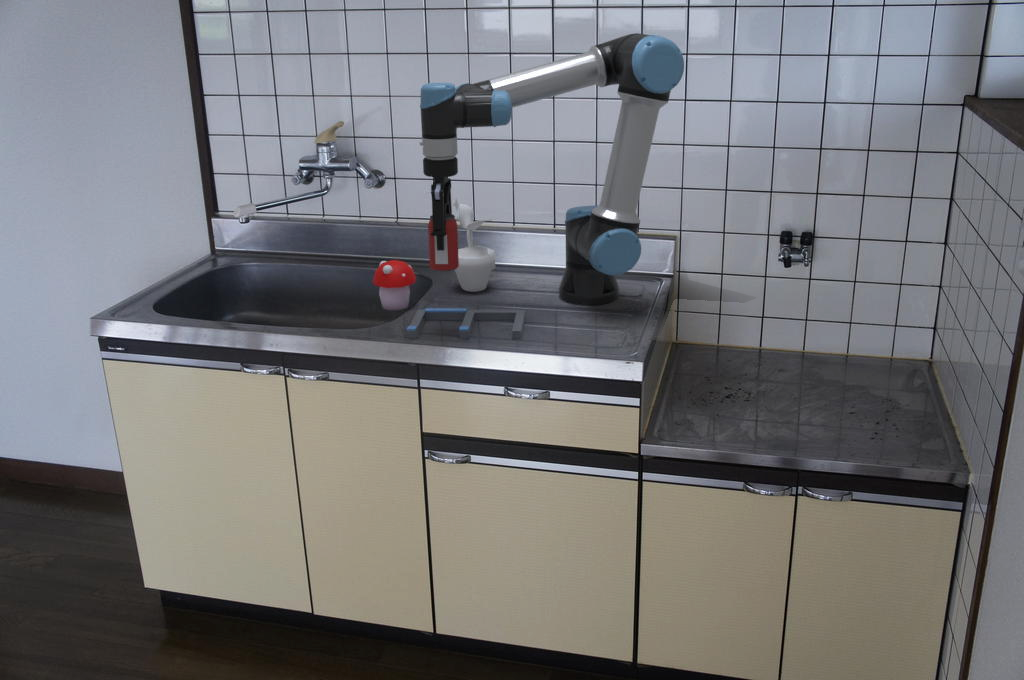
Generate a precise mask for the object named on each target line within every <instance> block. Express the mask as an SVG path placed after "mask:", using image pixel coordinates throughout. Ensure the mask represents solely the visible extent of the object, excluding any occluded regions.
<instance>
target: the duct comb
mask: <svg viewBox="0 0 1024 680" xmlns="http://www.w3.org/2000/svg"><path fill="white" fill-rule="evenodd" d="M426 321H462V323H461V324H460V326H459V328H458V330H459V333H458V334H459V340H469V339H470V336H471V333H472V330H473V327H474V324H475V321H513V325H512V329H511V338H512V340H522V337H523V331H524V327H525V322H526V309H468V308H467V307H465V308H461V307H459V308H458V307H457V308H456V307H455V308H453V307H452V308H451V307H448V308H447V307H445V308H444V307H443V308H442V307H440V308H439V307H437V308H436V307H435V308H434V307H426V308H425V309H417V310H416V312H415V314H414V316H413V318H412V320H411V322H410V324H409V325H408V326H407V327H406V337H407V339H408V340H413V339H414V340H416V339H417V337H418V336H419V334H420V332H421V330H422V328H423V326H424V324H425V322H426Z"/></svg>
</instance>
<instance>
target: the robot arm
mask: <svg viewBox="0 0 1024 680" xmlns="http://www.w3.org/2000/svg"><path fill="white" fill-rule="evenodd" d="M684 71H685V60H684V56H683V53H682V51H681V49H680V48H679V47H678V45H677V44H676V43H675V42H674V41H672V40H671V39H669V38H666V37H664V36H661V35H656V34H655V35H653V34H645V33H629V34H626V35H623V36H620V37H617V38H614V39H611V40H608V41H604V42H603V43H599V44H595V45H592V46H590V48H589V50H588V51H587V52H584V53H580V54H575V55H573V56H570V57H569V56H568V57H566V58H562V59H558V60H554V61H551V62H547V63H543V64H540V65H537V66H533V67H530V68H526V69H522V70H518V71H515V72H511V73H507V74H504V75H501V76H496V77H493V78H490V79H487V80H482V81H478V82H474V83H468V82H467V83H462V84H461V83H460V85H458V86H456V85H455V84H454V83H452V82H428V83H425V84H423V85H422V86H421V88H420V103H419V104H420V105H419V107H420V119H421V120H420V121H421V122H420V124H421V137H422V138H421V139H422V140H421V141H419V145H420V146H421V147H422V155H423V156H424V158H423V159H422V164H423V165H422V167H423V168H422V169H423V172H422V173H423V175H424V176H426V177H429V178H433V182H432V184H431V186H430V195H431V206H432V207H431V210H432V211H431V212H432V215H431V216H432V219H433V231H432V233H431V236H434V239H435V264H448V248H447V235H446V214H452V215H453V212H452V210H453V209H452V207H453V205H452V192H451V191H452V179H451V177H455V176H456V175H458V172H459V170H458V169H459V168H458V167H459V164H458V162H459V161H458V157H456V156H457V155H458V152H459V151H458V135H457V132H458V130H457V129H464V128H481V127H482V128H487V127H493V128H496V127H499V126H507V125H508V124H510V122H511V120H512V114H513V113H512V112H513V110H512V109H513V108H515V107H520V106H523V105H527V104H530V103H534V102H537V101H541V100H545V99H548V98H553V97H556V96H559V95H563V94H566V93H570V92H574V91H576V90H581V89H584V88H589V87H592V86H595V85H596V86H597V87H599V88H605V87H607V86H612V85H613V86H615V85H618V86H617V87H618V88H617V91H616V93H617V94H618V96H619V97H620V100H621V105H620V109H619V110H620V111H619V114H618V120H617V123H616V127H615V128H616V129H615V133H614V138H613V142H612V145H611V147H612V148H611V152H610V154H609V155H610V157H609V160H608V164H607V165H608V166H607V170H606V174H605V178H604V184H603V188H602V193H601V197H600V202H599V204H598V205H581V206H575V207H571V208H568V209H567V210H566V213H565V220H564V224H565V268H564V271H563V275H562V278H561V281H560V284H559V287H558V288H559V289H558V297H559V299H561V300H562V301H564V302H566V303H570V304H574V305H581V306H596V305H605V304H609V303H612V302H614V301H616V300H617V299H619V297H620V292H619V291H620V288H619V284H618V283H619V282H618V280H617V277H616V276H620V275H623V274H626V273H627V272H629V271H630V270H632V269H634V267H635V266H636V265H637V263H638V262H639V260H640V257H641V255H642V244H641V241H640V238H639V236H638V234H639V233H638V232H639V230H640V229H639V228H640V225H641V219H640V218H639V216H638V214H637V209H638V203H639V200H640V195H641V190H642V187H643V182H644V178H645V175H646V174H645V173H646V169H647V165H648V160H649V156H650V151H651V147H652V143H653V138H654V134H655V130H656V126H657V121H658V118H659V117H658V116H659V112H660V110H661V108H662V107H664V106H666V104H668V103H669V99H670V95H671V91H672V90H673V89H674V88H675V87H676V86H678V84H679V83H680V81H681V80H682V79H683V75H684ZM438 229H441V230H438Z"/></svg>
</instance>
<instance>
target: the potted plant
mask: <svg viewBox="0 0 1024 680" xmlns="http://www.w3.org/2000/svg"><path fill="white" fill-rule="evenodd" d="M452 206H454V208H455V209H456V211H458V210H459V214H458V216H457V217H456V218H455V220H456V222H458V223H459V225H460V226H461V227H462V229H464V230H466V241H467V245H468V246H464V248H463V247H462V248H458V258H459V266H458V268H457V269H455V270H453V271H454V272H455V275H456V276H457V280H458V282H459V285H460V288H461V289H462V290H464V291H466V292H471V293H473V292H474V293H477V292H483V291H484V290H485V289H487V287H488V283H489V280H490V276H491V273H492V271H494V270H495V268H496V256H495V255H496V251H495V250H493V249H491V248H488V247H486V246H482V245H477V244H475V245H474V238H473V237H474V236H473V231H475V230H477V229H479V228H480V226H482V225H483V224H484V223H485V222H488V221H489V222H490V221H492V218H487V219H480V220H478V219H477V220H475V221H474V218H475V212H474V209H473V207H471V206H470V205H468V204H464V203H458V199H457V198H455V202H454V203H452Z"/></svg>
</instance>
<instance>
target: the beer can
mask: <svg viewBox="0 0 1024 680" xmlns="http://www.w3.org/2000/svg"><path fill="white" fill-rule="evenodd" d="M427 229H428V231H427V233H428V252H429V253H428V254H429V255H428V256H429V258H428V259H429V268H430V269H431V270H433V271H434V272H442V273H443V272H450V271H451V272H452V271H454V270H455V269H457V268H458V266H459V258H458V249H459V233H458V231H459V229H458V221H457V220H456V216H455V215H454V214H453V213H452V214H446V235H447V248H448V264H435V239H434V236H431V233H432V231H433V219H432V215H430V216H429V221H428V225H427ZM438 230H441V229H438Z"/></svg>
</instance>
